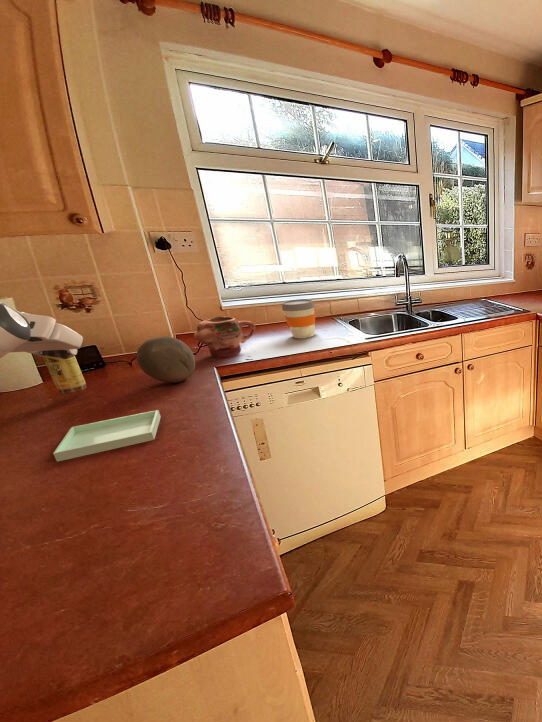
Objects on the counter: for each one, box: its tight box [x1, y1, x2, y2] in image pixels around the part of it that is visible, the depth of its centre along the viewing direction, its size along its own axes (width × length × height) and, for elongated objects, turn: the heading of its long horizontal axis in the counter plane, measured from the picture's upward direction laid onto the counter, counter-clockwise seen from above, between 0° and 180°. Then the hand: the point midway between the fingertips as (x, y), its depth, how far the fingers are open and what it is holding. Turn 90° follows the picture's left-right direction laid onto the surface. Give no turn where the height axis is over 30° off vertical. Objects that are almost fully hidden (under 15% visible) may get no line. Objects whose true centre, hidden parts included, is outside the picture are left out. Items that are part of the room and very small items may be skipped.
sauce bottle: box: [41, 350, 87, 395], centre depth 121 cm, size 6×6×20 cm
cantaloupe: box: [136, 336, 196, 384], centre depth 134 cm, size 14×14×15 cm
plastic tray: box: [52, 409, 162, 463], centre depth 102 cm, size 17×15×2 cm
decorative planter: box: [193, 316, 256, 358], centre depth 162 cm, size 20×12×14 cm, turn 133°
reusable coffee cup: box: [281, 298, 316, 339], centre depth 186 cm, size 13×13×15 cm
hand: (60, 353), depth 121 cm, fingers closed on sauce bottle, 6 cm apart
